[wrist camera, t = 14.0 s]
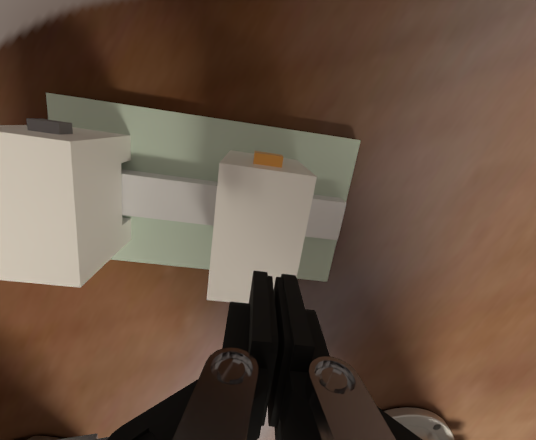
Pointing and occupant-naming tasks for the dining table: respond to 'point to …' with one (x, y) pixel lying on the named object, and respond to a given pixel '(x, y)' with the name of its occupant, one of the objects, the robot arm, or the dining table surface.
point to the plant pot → (43, 438)
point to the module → (257, 221)
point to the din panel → (203, 161)
